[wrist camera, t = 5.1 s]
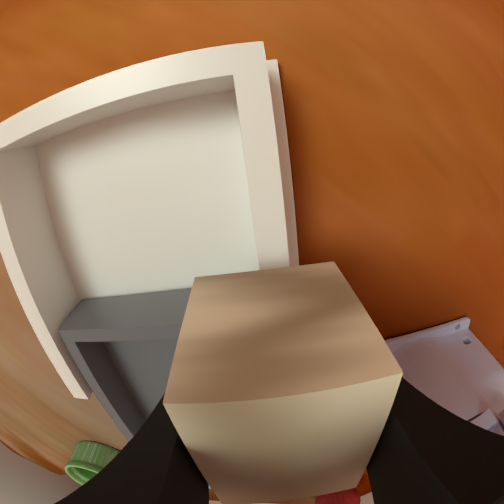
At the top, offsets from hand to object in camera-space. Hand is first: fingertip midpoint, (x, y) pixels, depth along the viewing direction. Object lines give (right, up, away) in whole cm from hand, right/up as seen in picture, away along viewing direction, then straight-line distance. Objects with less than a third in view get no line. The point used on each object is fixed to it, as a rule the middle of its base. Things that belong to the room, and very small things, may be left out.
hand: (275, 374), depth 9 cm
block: (0, +1, +1) cm, 2 cm away
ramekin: (-18, -21, +17) cm, 32 cm away
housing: (-6, +4, +7) cm, 10 cm away
